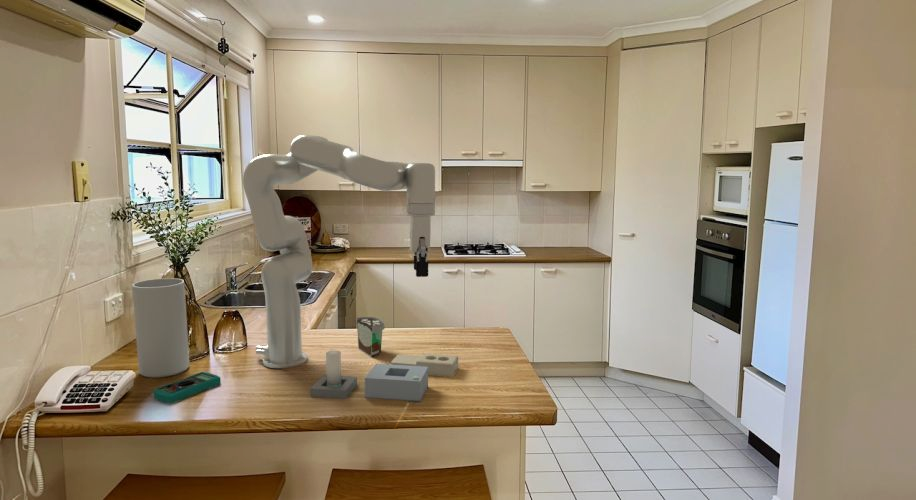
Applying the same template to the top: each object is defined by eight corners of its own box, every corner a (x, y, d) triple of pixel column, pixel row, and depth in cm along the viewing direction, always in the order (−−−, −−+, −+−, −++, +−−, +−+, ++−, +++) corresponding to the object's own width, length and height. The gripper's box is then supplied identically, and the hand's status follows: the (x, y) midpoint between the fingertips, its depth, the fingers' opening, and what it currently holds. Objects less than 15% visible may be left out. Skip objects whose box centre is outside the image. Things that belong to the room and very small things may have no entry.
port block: (364, 399, 137) (364, 376, 136) (376, 383, 147) (376, 362, 146) (420, 402, 135) (420, 379, 134) (428, 386, 145) (428, 365, 144)
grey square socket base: (310, 397, 137) (310, 388, 137) (324, 384, 146) (323, 375, 146) (345, 400, 136) (345, 390, 136) (356, 386, 145) (356, 377, 144)
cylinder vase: (165, 380, 147) (159, 289, 143) (128, 375, 150) (120, 285, 147) (199, 365, 159) (194, 279, 155) (163, 360, 162) (157, 277, 159)
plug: (324, 392, 139) (323, 354, 138) (330, 387, 143) (329, 350, 141) (338, 393, 139) (337, 355, 137) (343, 388, 142) (342, 350, 141)
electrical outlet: (398, 351, 162) (458, 355, 158) (398, 364, 162) (458, 369, 159) (390, 359, 155) (453, 364, 151) (390, 373, 155) (453, 378, 152)
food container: (391, 355, 169) (391, 323, 167) (373, 358, 165) (373, 326, 164) (374, 344, 179) (373, 314, 177) (356, 347, 176) (356, 317, 174)
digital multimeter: (151, 400, 136) (150, 388, 136) (203, 380, 149) (203, 369, 149) (169, 406, 133) (168, 394, 132) (222, 385, 146) (221, 374, 145)
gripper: (405, 207, 155) (405, 267, 158) (408, 212, 138) (408, 279, 141) (431, 207, 156) (431, 267, 159) (438, 212, 139) (437, 279, 142)
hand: (420, 272), depth 150 cm, fingers open, 9 cm apart
